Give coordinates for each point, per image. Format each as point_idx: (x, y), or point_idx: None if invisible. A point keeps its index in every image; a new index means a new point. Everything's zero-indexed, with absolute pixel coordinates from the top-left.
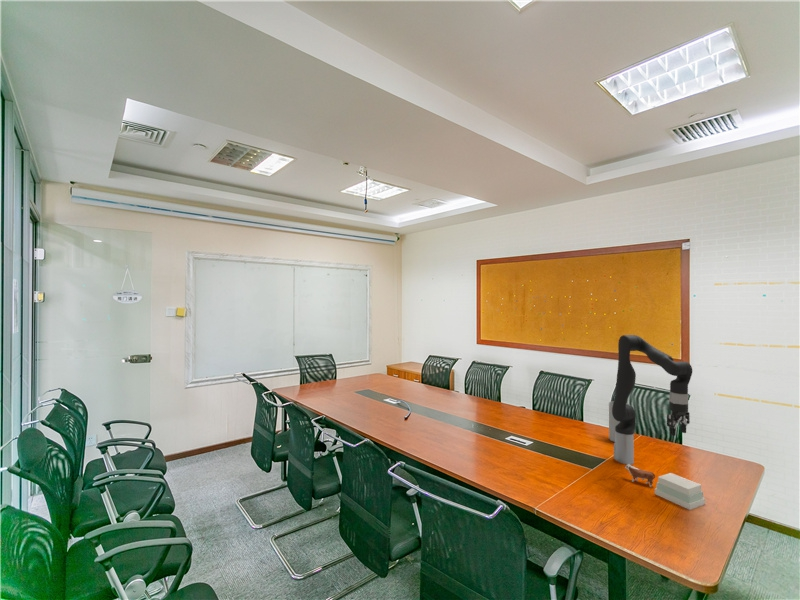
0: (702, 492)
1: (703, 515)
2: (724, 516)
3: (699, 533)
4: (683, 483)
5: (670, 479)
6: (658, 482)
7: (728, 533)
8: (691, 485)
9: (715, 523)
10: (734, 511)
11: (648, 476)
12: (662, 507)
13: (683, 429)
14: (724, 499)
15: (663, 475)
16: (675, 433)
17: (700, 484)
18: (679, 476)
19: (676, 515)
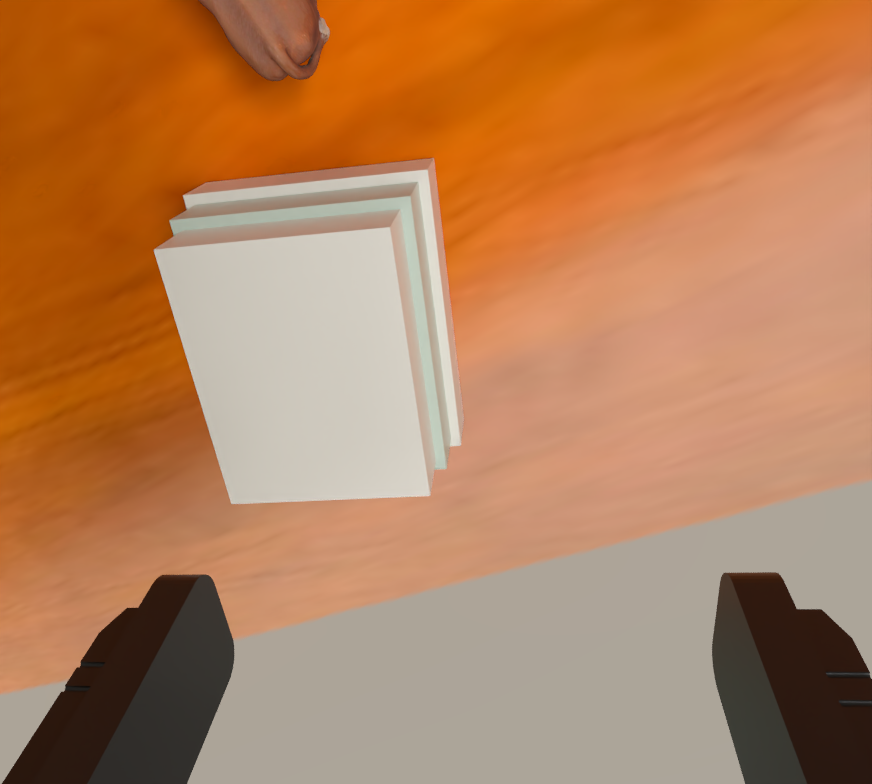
0: (437, 465)
1: None
2: (432, 534)
3: (108, 569)
4: (288, 429)
5: (234, 336)
6: (181, 234)
7: (267, 616)
8: (325, 475)
9: (293, 552)
10: (567, 527)
11: (234, 47)
12: (111, 337)
13: (749, 721)
14: (706, 422)
15: (240, 248)
16: (209, 715)
17: (428, 491)
18: (398, 323)
19: (128, 430)
